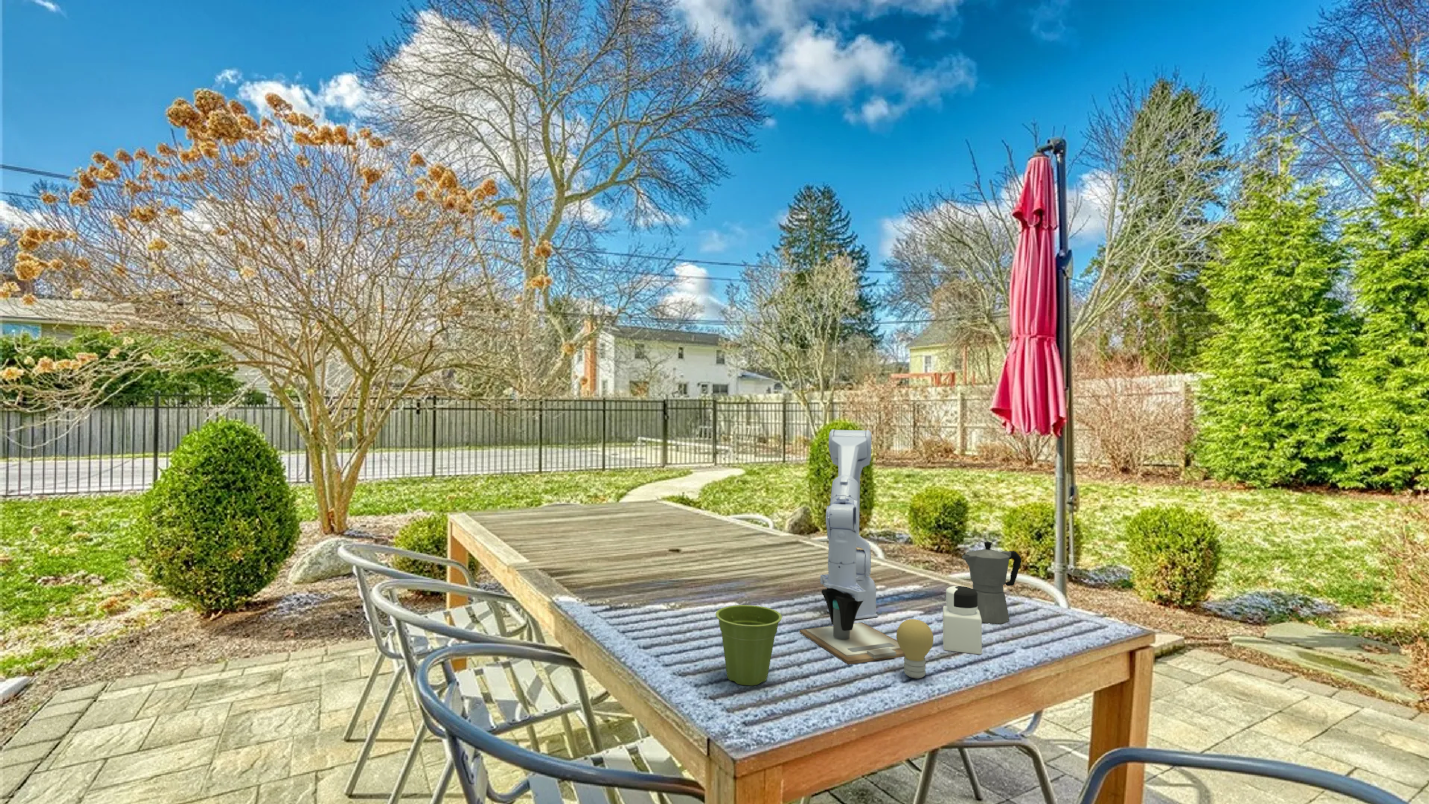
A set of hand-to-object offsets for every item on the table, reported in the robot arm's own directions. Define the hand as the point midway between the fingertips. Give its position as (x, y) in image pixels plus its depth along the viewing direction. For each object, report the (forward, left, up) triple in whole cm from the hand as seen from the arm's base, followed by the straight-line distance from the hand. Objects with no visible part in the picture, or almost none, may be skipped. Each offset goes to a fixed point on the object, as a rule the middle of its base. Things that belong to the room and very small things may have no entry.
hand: (841, 627), depth 130 cm
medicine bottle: (-22, +10, -3) cm, 25 cm away
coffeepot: (-43, -3, -3) cm, 43 cm away
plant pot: (+26, +10, -3) cm, 28 cm away
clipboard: (-3, +1, -3) cm, 4 cm away
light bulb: (-3, +19, -3) cm, 20 cm away
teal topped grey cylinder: (0, 0, -2) cm, 2 cm away
